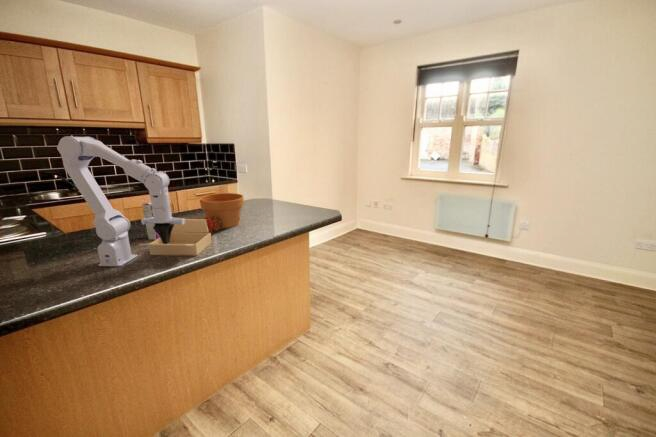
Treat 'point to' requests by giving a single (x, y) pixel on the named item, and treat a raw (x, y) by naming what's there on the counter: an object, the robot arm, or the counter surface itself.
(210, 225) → the dragon fruit
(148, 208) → the candy bar box
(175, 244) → the near flap
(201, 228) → the far flap
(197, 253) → the carton
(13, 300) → the counter surface
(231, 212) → the flower pot
